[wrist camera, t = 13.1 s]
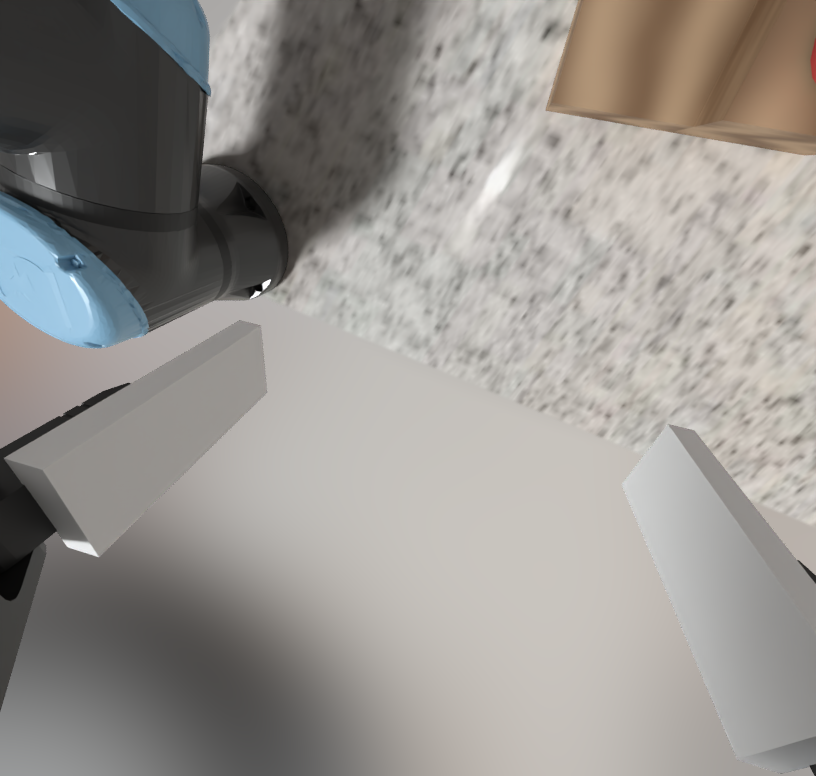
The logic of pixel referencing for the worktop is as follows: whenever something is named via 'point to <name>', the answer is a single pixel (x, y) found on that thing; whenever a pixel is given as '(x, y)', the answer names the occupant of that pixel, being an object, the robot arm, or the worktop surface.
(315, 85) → the worktop surface
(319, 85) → the worktop surface
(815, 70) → the beer can
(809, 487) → the worktop surface
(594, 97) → the step stand
